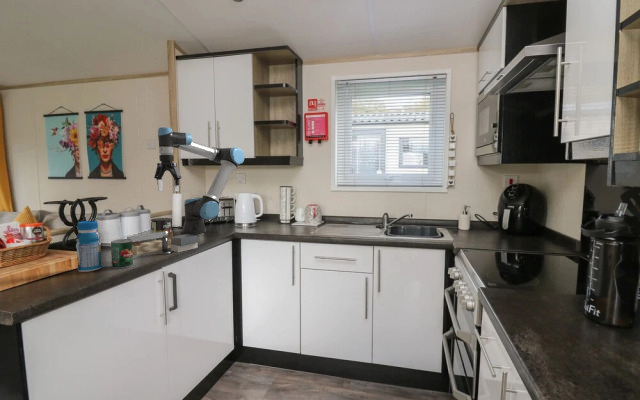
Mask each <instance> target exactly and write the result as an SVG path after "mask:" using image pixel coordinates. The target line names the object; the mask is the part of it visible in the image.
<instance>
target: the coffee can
mask: <svg viewBox="0 0 640 400" xmlns="http://www.w3.org/2000/svg"><path fill="white" fill-rule="evenodd" d="M150 221H151V222H150V223H151V233H157V232H162V231H168V232H172V218H171V217H158V218H152V219H150ZM156 240H162V238H156V239H151V241H156Z"/></svg>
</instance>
